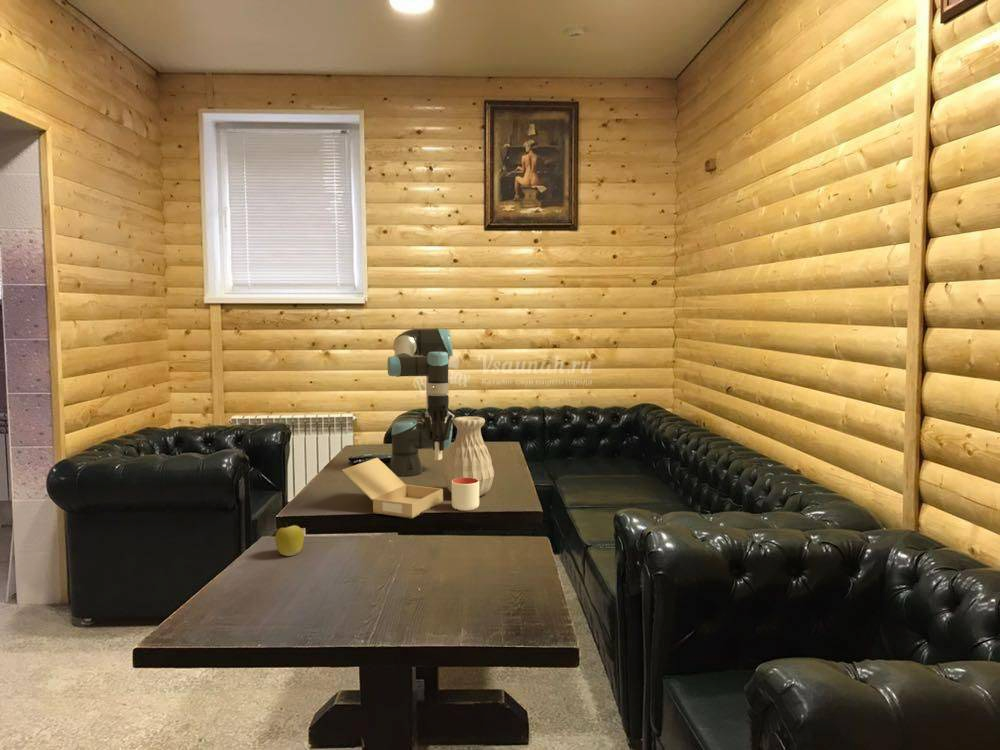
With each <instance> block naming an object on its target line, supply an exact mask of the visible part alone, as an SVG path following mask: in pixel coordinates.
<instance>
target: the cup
mask: <svg viewBox="0 0 1000 750" xmlns="http://www.w3.org/2000/svg"><path fill="white" fill-rule="evenodd" d="M451 506H452V508H453V509H454V510H456V509H457V510H456V511H463V512H466V511H473V510H476V509H478V508H479V506H480V496H479V480H478V479H475V478H457V479H454V480H452V492H451Z"/></svg>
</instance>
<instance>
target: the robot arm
mask: <svg viewBox="0 0 1000 750" xmlns="http://www.w3.org/2000/svg"><path fill="white" fill-rule="evenodd" d="M392 347H393V351H394V356H391V355H390V356H389V357H387V374H388V376H389V377H397V378H400V377H426V378H425V379H426V382H425V385H426V386H425V387H426V391H425V392H426V393H425V394H426V395H425V397H426V404H425V405H426V407H425V408H426V411H425V412H422V413H421V417H422V418H423V419H422V422H419V420H418V419H415V418H414V419H404V420H399V421H397V422H395V423H393V424H392V426H391V434H390V435H391V450H392V451H391V458H390V461H389V464H388V466H387V467H388V468H389V469H390V470H391V471H392V472H393V473H394V474H395V475H396V476H397V477H413V476H416V475H421V474H423V465H422V462H421V459H420V456H419V455H420V454H419V450H428V449H429V450H433V451H434V460H435V461H439V460H442V459H443V451H444V450H445V449H448V448H450V447H451V441H452V437H453V426H454V424H453V419H454V418H456V415H455V414H454V413H451V412H450V408H449V405H450V403H449V402H450V401H449V400H450V399H449V395H448V394H450V393H449V390H450V389H449V385H450V384H449V363H450V362H449V361H450V357H453V355H454V353H453V345H452V338H451V332H450V330H448V329H447V328H446V329H444V328H412V329H409V330H405V331H404V332H401V333H400V334H398V335H397V337H395V339H394V341H393V345H392Z"/></svg>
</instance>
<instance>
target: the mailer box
mask: <svg viewBox="0 0 1000 750" xmlns="http://www.w3.org/2000/svg"><path fill="white" fill-rule="evenodd" d="M442 503H444V488H438V487H429V486H428V487H427V486H420V485H413V484H406V485H404V486H402V487H400V488H397V489H395V490H393V491H390V492H388V493H386V494H383V495H381V496H379V497H376V498H374V499H373V500H372V513H374V514H380V515H386V516H394V517H399V518H407V519H414V518H415V517H417V516H420V515H421V514H422V513H421V512H422V511H424V510H427V509H429V508H431V507H433V508H434V506H435V507H437V506H438V505H441V504H442ZM431 509H432V508H431ZM429 510H430V509H429ZM427 511H428V510H427ZM420 513H421V514H420Z"/></svg>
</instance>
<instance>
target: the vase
mask: <svg viewBox="0 0 1000 750" xmlns="http://www.w3.org/2000/svg"><path fill="white" fill-rule="evenodd" d="M485 422H486V420H485V418H484V417H480V416H468V415H467V416H458V417H455V418H454V419H453V422H452V424H453V426H455V427H456V435H455V439H454V441H453V444H452V445H451V446H450V449H449V453H448V454H447V458H446V462H445V468H444V472H443V479H444V482H445V486H446V488H447V489H448V491H449V492H451V493H452V480H454V479H457V478H475V479H478V480H479V497H481V496H483V495H484V494H486V493H487V492H488V491H489V490H490V489H491V488H492V484H493V481H494V478H495V472H494V471H495V470H494V467H493V463H492V462H493V461H492V457H491V455H490V453H489V450H488V449H489V448H488V447H487V445H486V444H485V441H484V439H483V436H482V431H481V429H482V428H483V426H484V425H485Z"/></svg>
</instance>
